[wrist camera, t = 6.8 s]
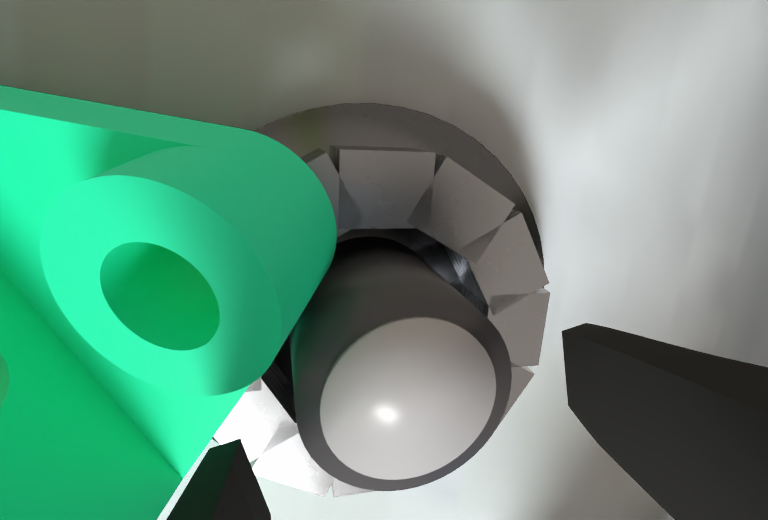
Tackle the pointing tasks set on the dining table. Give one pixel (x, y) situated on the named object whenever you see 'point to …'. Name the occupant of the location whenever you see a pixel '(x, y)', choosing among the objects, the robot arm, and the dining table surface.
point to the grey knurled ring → (413, 229)
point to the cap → (394, 370)
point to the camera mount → (138, 295)
